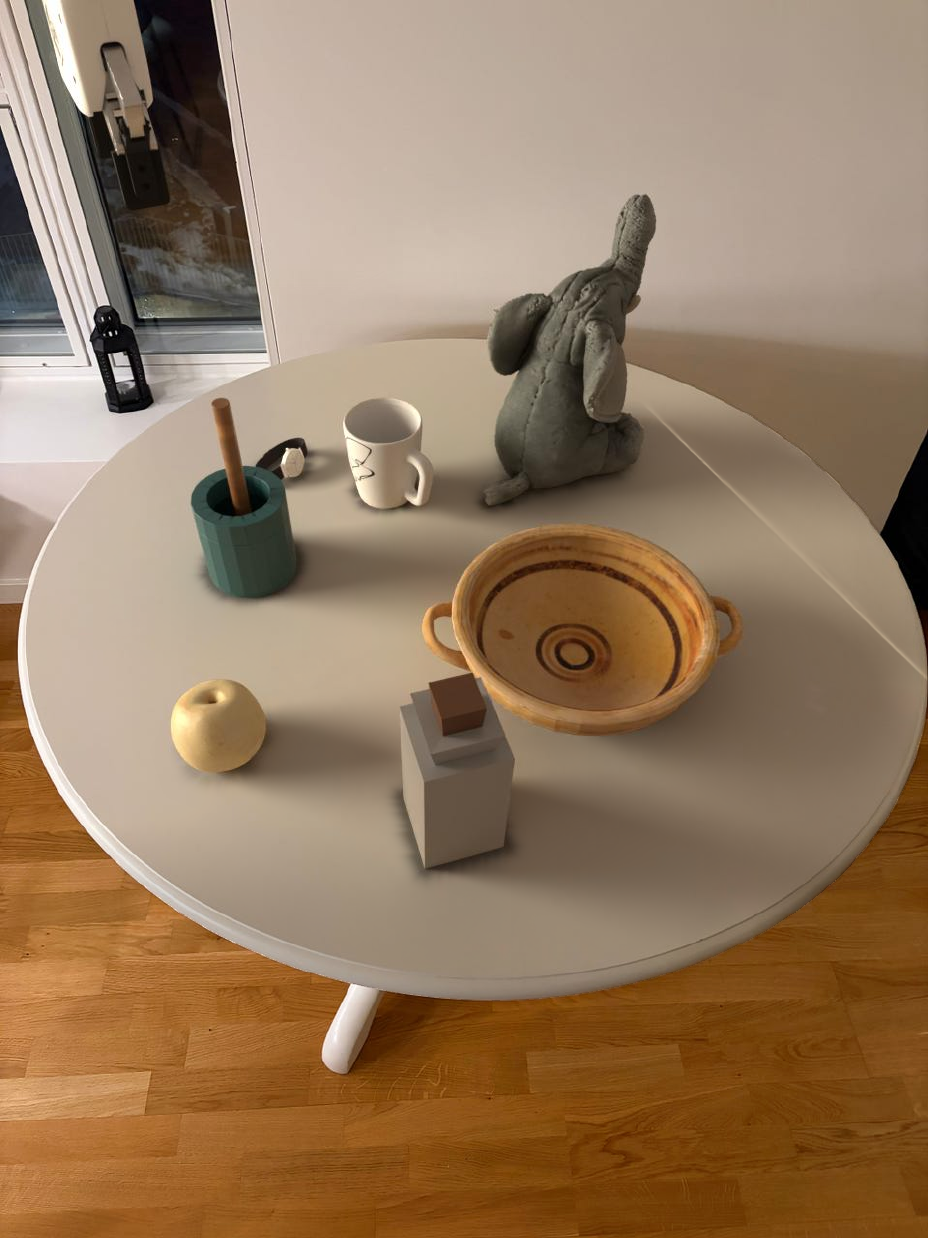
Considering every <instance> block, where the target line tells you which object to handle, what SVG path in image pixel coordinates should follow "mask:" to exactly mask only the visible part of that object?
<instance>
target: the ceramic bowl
mask: <svg viewBox="0 0 928 1238" xmlns="http://www.w3.org/2000/svg"><path fill="white" fill-rule="evenodd" d="M452 597H453V599H452V601H445V602H439V603H436V604H433V605H432V606H430V607H429V608H428V609H427V610H426V612H425V614H424V617H423V620H422V624H421V631H422V635H423V639H424V642H425V644H426V646H427V648H428V649H429V650H430V651H431V652H432V653H433V654H434V655H435V656H436V657H437V658H439V659H441V660H442V661H444V662H446V663H448V664H450V665H452V666H454V667H456V668H459V669H462V670H464V671H468V672H469V673H473V675H474V677H475V678H479V677H481V678H482V681H483V683H484V686H485V687H486V689H487V692H488V694H489V696H490V697H492V698H493V700H494V701H495V702H496V703H498V704H499V705H501V706H502V707H503V708H505V709H506V710H508V711H509V712H510V713H512V714H513V715H515V716H517V717H518V718H521V719H523V720H525V721H527V722H529V723H531V724H532V725H535V726H537V727H541V728H544V729H547V730H549V731H553V732H556V733H562V734H566V735H572V736H581V737H582V736H583V737H604V736H614V735H622V734H626V733H630V732H634V731H636V730H637V731H638V730H641V729H643V728H646V727H647V726H649V725H652V724H654V723H656V722H658V721H660V720H662V719H664V718H665V717H668V715H670V714H671V713H672V712H674V711H676V710H677V709H679V707H681V706H682V705H683V704H684V703H685V702H686V701H687V700H688V699H689V698H691V697H692V696H693V695H694V694H695V693H696V692H697V691H698V689H700V688H701V686H702V685H703V684H704V683H705V682H706V681H707V679H708V678H709V676H710V675H711V672H712V671H713V668H714V666H715V665H716V664H717V663H716V662H717V659H719V658H721V657H723V656H724V655H726V654H727V653H729V652H731V650H733V649H735V648H736V646H737V645H738V644H739V643H740V641H741V639H742V636H743V629H744V625H743V624H744V623H743V617H742V615H741V614H740V612H739V610H738V609H737V607H736V606H735V605H734V604H733V603H732V602H731V601H729V600H728V599H726V598H725V597H721V596H717V595H710V593H709V592H708V590H707V589H706V588H705V586H704V584H703V583H702V582H701V581H700V579H699V578H698V577H697V576H696V575H695V573H693V572H692V571H691V569H690V568H688V566H687V565H686V564H685V563H683V562H682V561H681V560H680V559H678V558H677V557H676V556H675V555H673V554H671V552H669V551H668V550H666V549H664V548H662V547H661V546H659V545H657V544H655V543H653V542H652V541H650V540H648V539H645V538H643V537H640V536H638V535H635V534H633V533H630V532H627V531H623V530H620V529H617V528H613V527H608V526H602V525H598V524H589V523H572V522H571V523H569V522H568V523H555V524H545V525H540V526H536V527H531V528H526V529H524V530H521V531H518V532H515V533H512V534H510V535H507V536H506V537H504V538H502V539H500V540H498V541H497V542H495V543H493V544H491V545H490V546H488V547H487V548H486V549H484V551H482V552H481V553H479V554H478V555H477V556H476V557H475V558H474V559H473V560H472V562H471V563H470V564H468V566H467V567H466V568H465V570H464V571H463V574H462V575H461V577H460V578H459V581H457V585H456V587H455V590H454V594H453V596H452ZM718 611H719V612H722V613H724V614H725V615H727V616H728V618H729V621H730V624H731V630H730V632H729V633H728V635H727V636H726V637H724V638H723V639H721V626H720V621H719V616H718ZM442 617H443V618H444V617H445V618H451V623H452V628H453V633H454V638H455V640H456V642H457V644H458V646H459V649H460V650H457V649H453V648H450V647H448V646H446V645H444V643H442V642H441V641H440V640H439V638H438V637H437V635H436V632H435V621H436V620H438V619H439V618H442Z"/></svg>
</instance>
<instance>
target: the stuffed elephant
mask: <svg viewBox="0 0 928 1238" xmlns="http://www.w3.org/2000/svg"><path fill="white" fill-rule="evenodd" d="M618 214H619V215H618V216H617V219H616V221H615V229H614V238H613V241H612V247H611V256H610V257H609V258H607V259H605V261H603V262H602V263H601V264H600V265H599V266H596V267H595V266H594V267H590V268H585V269H584V270H583V269H581V270H578V271H575V272H573V273H571V274H570V275H568V276H566V277H564V278H563V279H562V280H561V281H560V282H559V283H557V285H556V286H555V287H553V289H552V290H551V292H549V293H548V295H546V294H545V293H543V292H542V293H541V292H540V293H539V292H538V293H537V292H534V293H531V292H530V293H529V292H527V293H525V294H524V295H521V296H517V297H515V298H512V299H511V300H508V301H506V302H505V303H504V304H503V305H502V306H500V307H499V309H498V310H495V314H494V315H493V317H492V319H491V322H490V324H489V328H488V334H487V335H486V350H487V356H488V359H489V361H490V365H491V367H492V369H493V371H495V373H497V374H499V375H500V376H503V377H507V376H512V375H514V374H516V373H517V374H516V376H515V378H514V380H513V381H512V383H511V386H510V388H509V390H508V393H507V394H506V396H505V398H504V400H503V401H504V402H503V404H502V406H501V408H500V410H499V411H498V415H497V417H496V421H495V428H494V440H493V441H494V448H495V452H496V455H497V458H498V460H499V461H500V464H501V466H502V467H503V470H504V471H505V474H507V476H508V477H509V479H500V480H497V481H495V482H493V483H491V484H490V485H488V486H486V487H485V488H484V490H483V494H484V495H485V500H484V501H485V503H486V504H487V505H488V506H496V505H500V504H503V503H505V502H507V501H510V500H512V499H515V498H516V497H518V496H520V495H521V494H523V493H524V492H525V491H526V490H528V489H529V488H531V489H548V488H549V489H550V488H556V487H559V486H562V485H566V484H569V483H573V482H575V481H577V480H580V479H582V478H584V477H591V476H598V475H605V474H607V475H608V474H613V473H616V472H618V471H622V470H624V469H627V468H628V467H630V466H632V465H634V464H635V463H637V462H638V460H639V456H640V455H641V452H642V445H643V444H644V440H645V439H644V438H645V431H644V430H645V428H644V427H643V426H642V424H641V423H640V422H639V420H638V419H637V418H635V417H633V415H632V413H627V412H623V409H624V407H625V401H626V395H627V389H628V388H627V386H628V368H627V362H626V361H627V360H626V356H625V355H626V354H625V351H624V348H623V343H624V341H625V338H626V327H627V326H626V323H627V322H626V321H627V315H628V314H631V313H633V311H634V310H635V309H637V308H638V306H639V305H640V303H641V301H642V297H641V295H639V294H638V291H639V289H640V288H641V287H640V286H641V284H642V277H643V273H644V268H645V266H646V260H647V259H646V258H647V253H648V251H649V245H650V243H651V241H652V239H653V238H654V236H655V234H656V229H657V215H656V213H655V208H654V204H653V202H652V200H651V197H649V195H648V194H647V193H645V194H644V193H643V194H641V195H640V194H633V195H632V196H631V197H630V198H628V200H627V202H625V204H624V205H623V207H622V208H621V209H620V212H619V213H618Z"/></svg>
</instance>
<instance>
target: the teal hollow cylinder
mask: <svg viewBox="0 0 928 1238" xmlns="http://www.w3.org/2000/svg"><path fill="white" fill-rule="evenodd" d="M242 466H243V471H244V476H245V481H246V486H247V491H248V496H249V501H250V506H251V511H252V513H250V514H247V515H243V516H236V515H235V510H234V506H233V501H232V496H231V492H230V487H229V483H228V478H227V474H226V469H225V468H223V469H219V470H216V471H214V472H212V473H210V474H208V475H206V476H205V477H204V478H203V479H202V480H200V481H199V482H198V483H197V484H196V485H195V487H194V489H193V490H192V492H191V496H190V507H191V511H192V513H193V518H194V522H195V525H196V529H197V533H198V538H199V541H200V544H201V548H202V552H203V555H204V556H203V557H204V559H205V563H206V567H207V571H208V574H209V577H210V580H211V581H212V583H213V585H214V586H215V588H217V589H218V590H219V591H220V592H222V593H224V594H226V595H228V596H231V597H235V598H241V599H255V598H262V597H264V596H268V595H271V594H273V593H275V592H277V591H279V590H280V589H282V588H284V587H285V586H286V585H287V584H288V583H290V581H291V580H292V578H293V577H294V575H295V573H296V570H297V556H296V555H297V554H296V548H295V542H294V536H293V529H292V523H291V518H290V516H291V515H290V511H289V504H288V498H287V492H286V487H285V485H284V483H283V481H282V479H280V478H278V477H277V476H276V475H275V474H273V473H272V472H270V470H267V469H266V470H265V469H262V468H260V467H255V466H252V465H242Z"/></svg>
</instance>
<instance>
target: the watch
mask: <svg viewBox="0 0 928 1238" xmlns="http://www.w3.org/2000/svg"><path fill="white" fill-rule="evenodd" d="M308 454H309V451H308V446H307V443H306V441H305V439H304V438H303V437H293V438H288V439H286V440H284V441H282V442H280V443H278V444H276V445H275V446H273V447H271V448H269V449H268V451H266V452H265V453H264V454H263V455H262V457H260V459H258V461H257V462H256V464H255V466H254V467H260V468H262V469H265V470H267V469H268V468H270V467H271V466H272V465H273V464H274V463H276V462H277V461H279V459H281V458H282V460H281V463H280V464H279V466H278V467H276V468H274V469H272V470H271V471H270V470H269V471H270V472H272V473H273V474H275V475H276V476H277V477H278V478H280V479H281V480H283V479H284V478H285V479H286V478H287V477H289V478H295V477H298V476H299V475H300V474H301V473H302V472H303V469H304V466H305V459H306V458H307V456H308Z"/></svg>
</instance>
